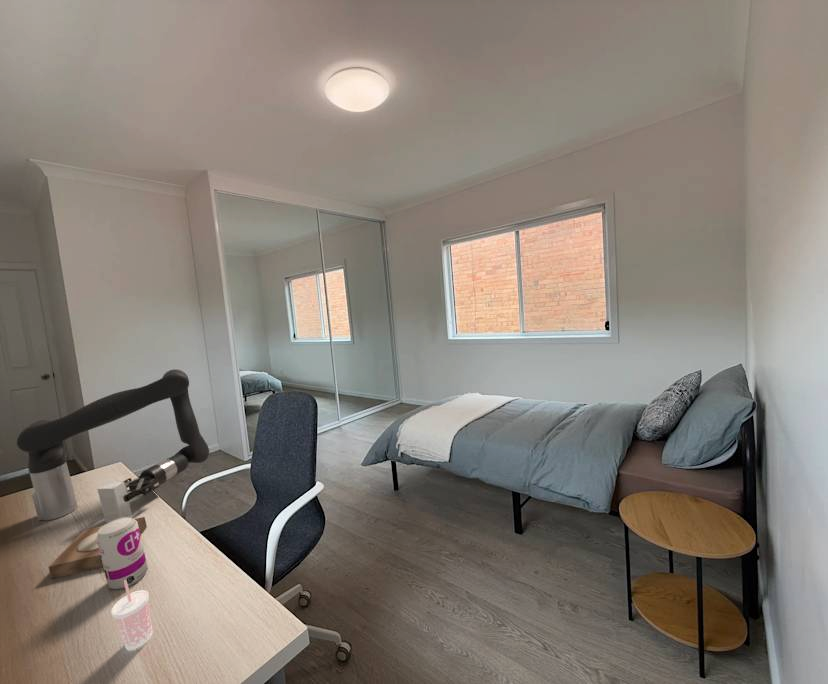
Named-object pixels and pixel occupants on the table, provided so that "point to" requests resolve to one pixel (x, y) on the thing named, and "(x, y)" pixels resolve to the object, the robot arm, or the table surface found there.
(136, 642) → the beverage cup
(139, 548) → the supplement can
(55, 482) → the robot arm
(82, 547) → the block
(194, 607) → the table surface
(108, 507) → the skincare box
